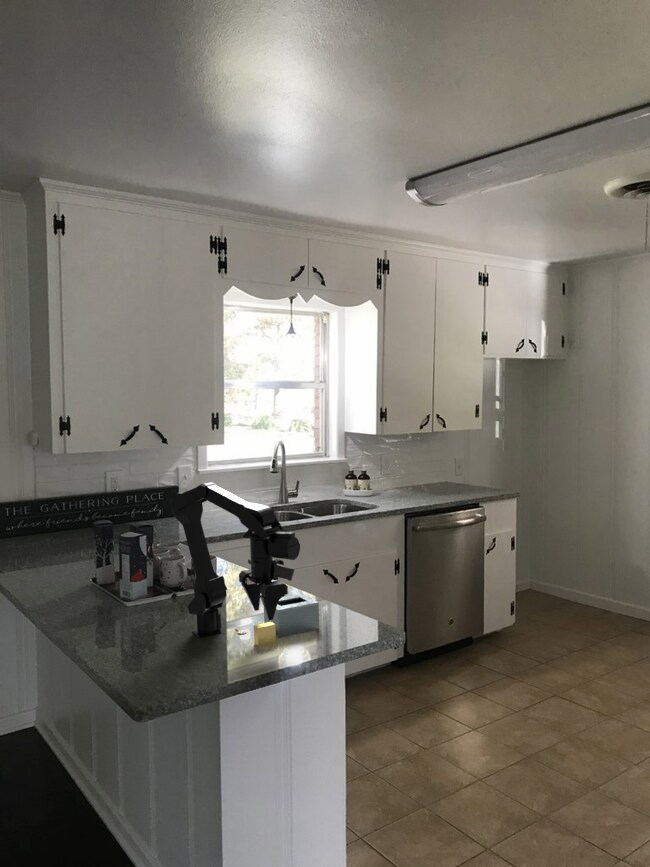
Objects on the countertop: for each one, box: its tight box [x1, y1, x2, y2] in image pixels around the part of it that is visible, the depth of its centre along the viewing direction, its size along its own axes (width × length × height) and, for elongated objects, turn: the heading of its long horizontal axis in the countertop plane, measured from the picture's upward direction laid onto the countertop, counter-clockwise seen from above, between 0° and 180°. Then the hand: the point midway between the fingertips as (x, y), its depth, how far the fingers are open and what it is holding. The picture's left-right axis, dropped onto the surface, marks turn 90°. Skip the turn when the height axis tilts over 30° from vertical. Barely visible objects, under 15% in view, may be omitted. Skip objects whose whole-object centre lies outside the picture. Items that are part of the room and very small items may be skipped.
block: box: [253, 622, 277, 647], centre depth 191 cm, size 5×2×5 cm, turn 118°
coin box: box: [263, 593, 320, 638], centre depth 202 cm, size 12×10×7 cm
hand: (263, 614), depth 191 cm, fingers open, 9 cm apart
